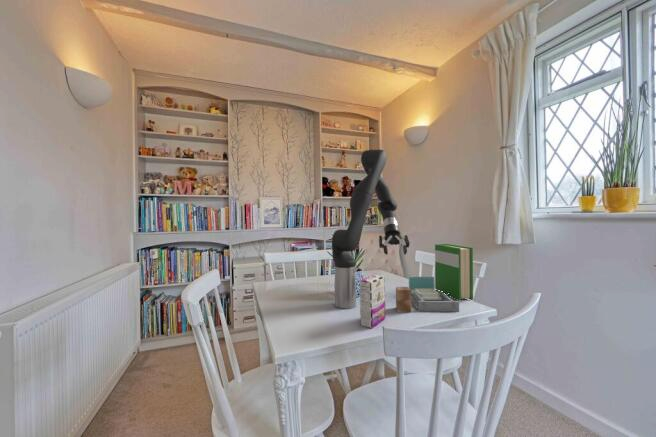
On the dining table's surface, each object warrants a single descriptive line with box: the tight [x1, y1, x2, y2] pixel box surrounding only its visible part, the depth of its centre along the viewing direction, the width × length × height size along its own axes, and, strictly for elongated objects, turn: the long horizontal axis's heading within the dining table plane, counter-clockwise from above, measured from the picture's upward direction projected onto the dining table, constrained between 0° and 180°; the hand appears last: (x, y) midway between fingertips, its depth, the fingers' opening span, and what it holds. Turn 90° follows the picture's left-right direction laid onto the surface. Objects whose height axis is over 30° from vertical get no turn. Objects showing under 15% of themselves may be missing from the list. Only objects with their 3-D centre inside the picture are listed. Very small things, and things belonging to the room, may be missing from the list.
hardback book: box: [434, 243, 474, 301], centre depth 129 cm, size 18×7×24 cm, turn 12°
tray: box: [408, 276, 442, 300], centre depth 124 cm, size 12×15×7 cm
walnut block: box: [395, 286, 412, 313], centre depth 109 cm, size 5×5×9 cm
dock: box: [411, 291, 460, 312], centre depth 115 cm, size 16×17×4 cm
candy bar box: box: [359, 274, 386, 329], centre depth 97 cm, size 11×5×16 cm, turn 143°
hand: (395, 253), depth 123 cm, fingers open, 8 cm apart
